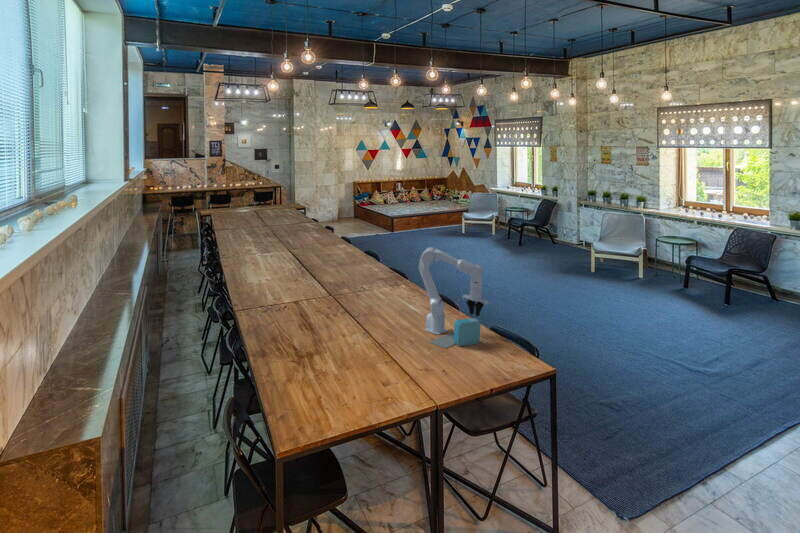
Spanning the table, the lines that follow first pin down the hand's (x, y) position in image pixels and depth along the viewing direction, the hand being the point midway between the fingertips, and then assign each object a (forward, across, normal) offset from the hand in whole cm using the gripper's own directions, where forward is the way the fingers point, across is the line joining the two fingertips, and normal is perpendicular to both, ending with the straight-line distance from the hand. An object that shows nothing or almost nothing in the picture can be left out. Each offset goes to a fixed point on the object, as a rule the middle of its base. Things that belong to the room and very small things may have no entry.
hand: (474, 315), depth 255 cm
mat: (+10, +4, +13) cm, 17 cm away
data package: (+10, -5, +13) cm, 17 cm away
